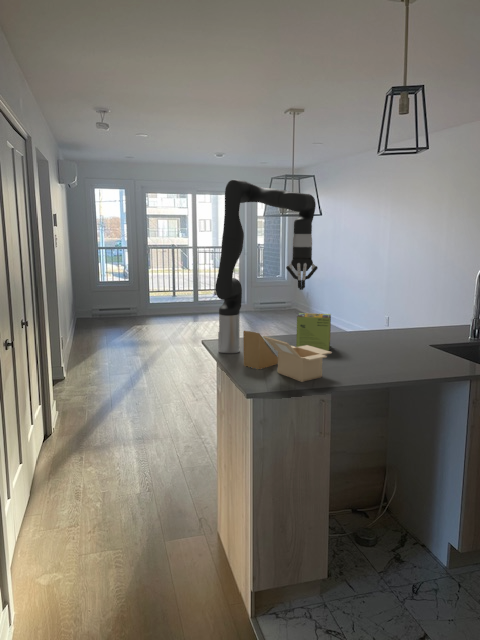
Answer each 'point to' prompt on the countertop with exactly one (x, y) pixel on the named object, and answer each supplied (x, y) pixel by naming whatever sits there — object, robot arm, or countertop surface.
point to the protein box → (313, 330)
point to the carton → (302, 363)
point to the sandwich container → (257, 351)
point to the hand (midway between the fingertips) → (301, 289)
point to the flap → (282, 347)
